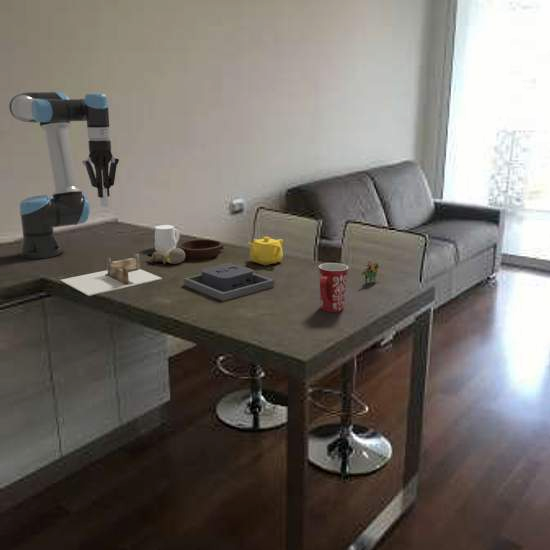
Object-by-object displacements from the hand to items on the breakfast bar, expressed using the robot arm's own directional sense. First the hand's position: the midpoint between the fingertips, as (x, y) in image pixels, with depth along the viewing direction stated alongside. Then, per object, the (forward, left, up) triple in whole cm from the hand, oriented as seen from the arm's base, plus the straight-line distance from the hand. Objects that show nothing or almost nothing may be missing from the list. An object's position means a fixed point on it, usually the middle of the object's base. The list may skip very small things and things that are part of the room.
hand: (104, 206), depth 219 cm
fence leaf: (+14, -4, -24) cm, 28 cm away
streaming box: (+41, +23, -25) cm, 54 cm away
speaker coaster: (+44, +22, -24) cm, 55 cm away
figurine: (+74, +61, -25) cm, 99 cm away
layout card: (+11, -5, -24) cm, 27 cm away
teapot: (+30, +51, -25) cm, 64 cm away
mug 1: (-15, +35, -25) cm, 45 cm away
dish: (+4, +39, -25) cm, 46 cm away
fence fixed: (+6, +3, -24) cm, 25 cm away
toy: (+3, +23, -25) cm, 34 cm away
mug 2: (+83, +31, -25) cm, 92 cm away
